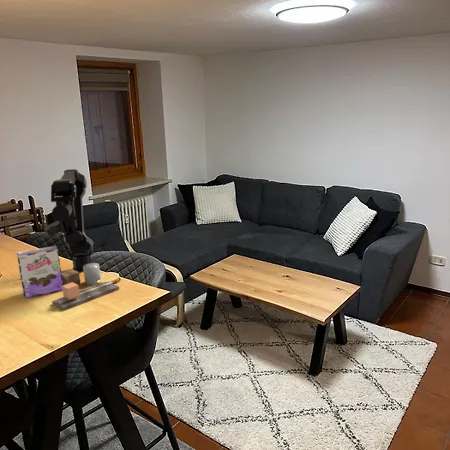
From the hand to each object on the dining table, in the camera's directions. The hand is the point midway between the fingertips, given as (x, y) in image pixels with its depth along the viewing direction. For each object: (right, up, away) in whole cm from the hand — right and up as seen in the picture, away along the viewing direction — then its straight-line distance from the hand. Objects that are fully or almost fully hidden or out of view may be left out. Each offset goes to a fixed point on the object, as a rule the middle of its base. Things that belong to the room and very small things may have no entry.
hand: (72, 253), depth 160 cm
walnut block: (-2, -12, +3) cm, 13 cm away
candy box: (-10, -14, -3) cm, 18 cm away
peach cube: (+4, -14, -13) cm, 20 cm away
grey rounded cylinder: (+6, -12, +4) cm, 14 cm away
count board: (+8, -15, -8) cm, 19 cm away
